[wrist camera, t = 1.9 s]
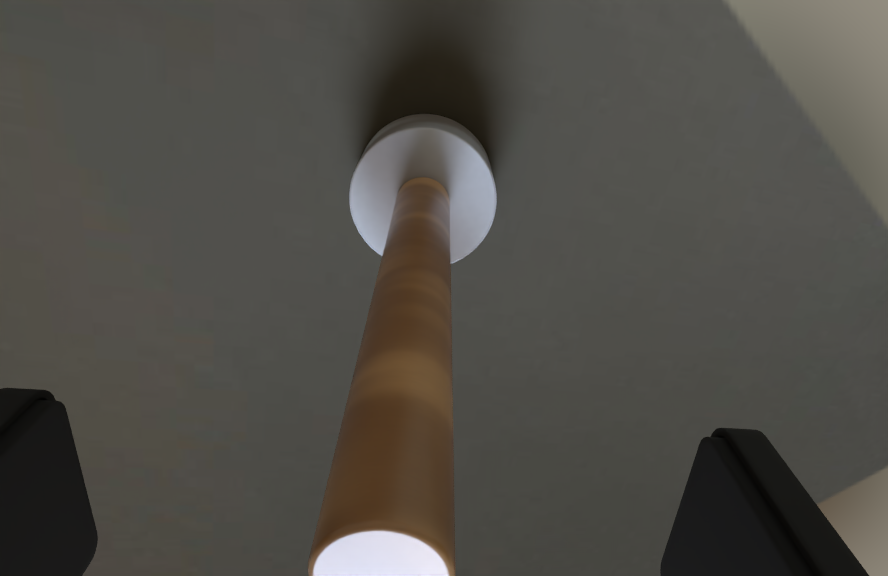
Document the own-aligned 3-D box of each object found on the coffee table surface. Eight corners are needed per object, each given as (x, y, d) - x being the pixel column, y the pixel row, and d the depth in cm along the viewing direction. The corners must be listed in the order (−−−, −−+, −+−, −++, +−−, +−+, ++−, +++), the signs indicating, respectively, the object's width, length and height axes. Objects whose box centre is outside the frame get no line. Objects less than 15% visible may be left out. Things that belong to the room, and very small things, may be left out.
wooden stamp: (456, 88, 21) (484, 343, 6) (513, 211, 23) (643, 640, 8) (333, 151, 22) (79, 509, 7) (397, 263, 24) (312, 733, 9)
